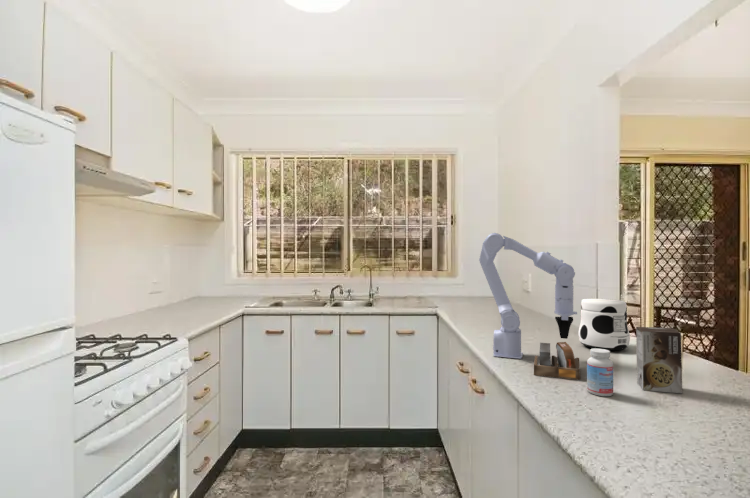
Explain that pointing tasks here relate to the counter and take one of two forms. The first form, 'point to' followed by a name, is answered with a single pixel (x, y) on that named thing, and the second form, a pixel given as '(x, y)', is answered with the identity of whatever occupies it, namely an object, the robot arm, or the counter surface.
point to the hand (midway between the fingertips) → (563, 338)
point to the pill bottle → (600, 373)
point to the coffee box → (659, 359)
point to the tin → (565, 355)
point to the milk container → (604, 324)
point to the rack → (554, 365)
